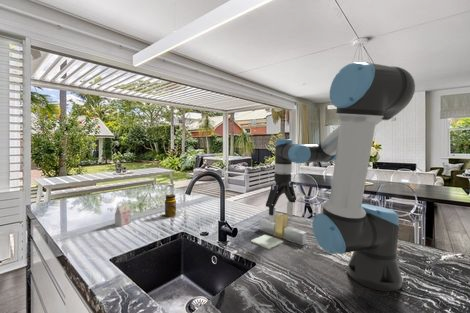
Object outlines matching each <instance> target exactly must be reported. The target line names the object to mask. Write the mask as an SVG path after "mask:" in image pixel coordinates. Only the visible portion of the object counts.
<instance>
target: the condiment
mask: <svg viewBox="0 0 470 313" xmlns="http://www.w3.org/2000/svg"><path fill="white" fill-rule="evenodd" d="M176 212H177V199H176V194H166V195H165V200H164V214H160V215H159V217H161V218H162V219H170V218H175V217H177V218H178V215H177V214H176Z"/></svg>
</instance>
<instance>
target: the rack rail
mask: <svg viewBox="0 0 470 313" xmlns="http://www.w3.org/2000/svg"><path fill="white" fill-rule="evenodd" d="M258 221H259V224H258V228H259V231H263V232H265V233H268V234H271V235H273V236H275V223H273V222H270V221H269V219H267V218H261V219H259V220H258ZM307 233H308V232H307V231H304V230H301V229H298V228H295V227H291V226H288V227H286V228H285V230H284V238H283V239H284V240H285V241H288V242H291V243H295V244H298V245H300V246H305V245H306V244H307Z"/></svg>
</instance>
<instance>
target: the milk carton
mask: <svg viewBox="0 0 470 313" xmlns="http://www.w3.org/2000/svg"><path fill="white" fill-rule="evenodd" d="M131 212H132V210H131V209H130V205H129V203H124V204H121V205H119V206H117V207H116V211H115V213H114V227H115V226H116V227H120V228H121V227H124V226H125V225H128V224H130V223H131V222H132V218H131V217H132V213H131Z"/></svg>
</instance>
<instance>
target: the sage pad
mask: <svg viewBox="0 0 470 313" xmlns="http://www.w3.org/2000/svg"><path fill="white" fill-rule="evenodd" d="M250 242H251V243H253V244H255V245H257V246H260V247H262V248H264V249H266V250H271V249H273V248H275V247H277V246H279V245H281V244H284V243H285V242H284V240H282V239H279V238H278V237H277V238H276V237H275V236H271V235H268V234H266V233H265V234H263V235H260V236H259V237H255V238H253V239H251V240H250Z"/></svg>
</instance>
